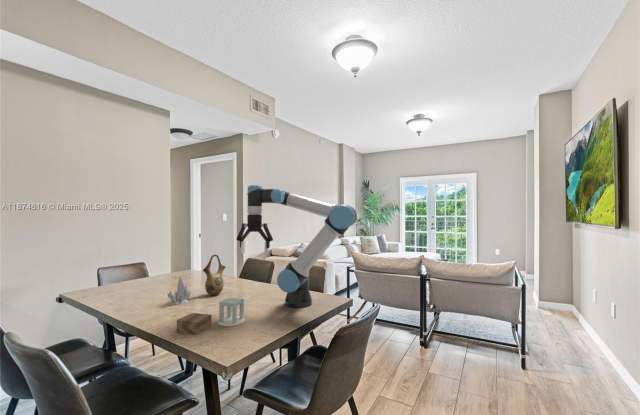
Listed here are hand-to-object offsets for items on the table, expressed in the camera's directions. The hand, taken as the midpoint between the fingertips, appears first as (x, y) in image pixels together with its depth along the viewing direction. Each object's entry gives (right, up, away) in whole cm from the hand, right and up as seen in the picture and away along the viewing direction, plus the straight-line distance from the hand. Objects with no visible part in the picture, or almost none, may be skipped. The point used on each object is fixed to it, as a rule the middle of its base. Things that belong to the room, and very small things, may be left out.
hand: (254, 254), depth 163 cm
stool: (-6, -28, -21) cm, 35 cm away
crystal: (-45, -29, +9) cm, 54 cm away
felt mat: (-6, -28, -21) cm, 36 cm away
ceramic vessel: (-30, -29, +26) cm, 50 cm away
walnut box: (-20, -28, -29) cm, 45 cm away
